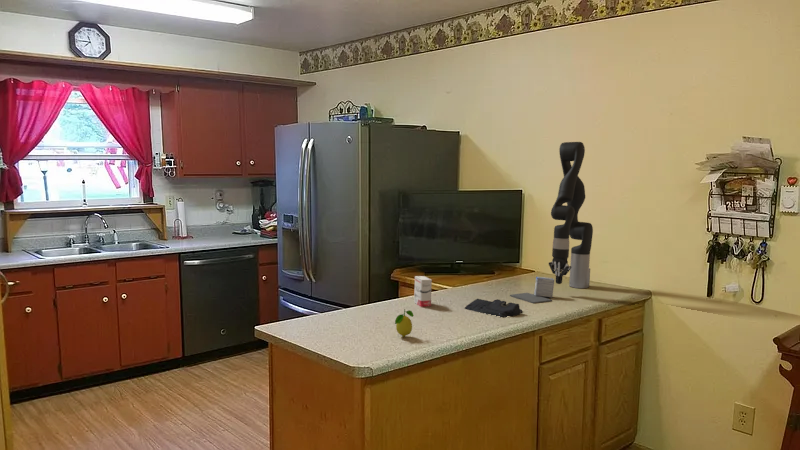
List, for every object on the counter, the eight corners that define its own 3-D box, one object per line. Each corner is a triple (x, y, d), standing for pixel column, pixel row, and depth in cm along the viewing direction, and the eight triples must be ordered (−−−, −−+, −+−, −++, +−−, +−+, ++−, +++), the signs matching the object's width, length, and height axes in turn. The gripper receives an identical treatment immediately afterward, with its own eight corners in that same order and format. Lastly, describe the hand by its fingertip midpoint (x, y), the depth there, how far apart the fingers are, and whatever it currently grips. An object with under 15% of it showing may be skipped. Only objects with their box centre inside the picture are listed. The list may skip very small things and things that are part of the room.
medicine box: (550, 296, 271) (552, 278, 271) (552, 297, 267) (554, 279, 266) (533, 294, 272) (535, 276, 271) (535, 295, 267) (537, 277, 267)
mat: (527, 293, 275) (527, 292, 275) (551, 301, 261) (551, 299, 261) (509, 295, 269) (509, 294, 269) (533, 303, 256) (533, 302, 256)
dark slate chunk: (482, 303, 255) (482, 293, 254) (525, 313, 240) (526, 302, 240) (461, 309, 244) (461, 298, 243) (506, 320, 229) (506, 308, 228)
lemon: (413, 334, 204) (413, 306, 203) (414, 339, 199) (414, 311, 198) (394, 334, 204) (395, 306, 203) (394, 339, 198) (395, 310, 197)
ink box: (431, 306, 246) (432, 279, 244) (420, 307, 244) (421, 279, 243) (423, 301, 254) (424, 275, 252) (413, 302, 252) (414, 276, 251)
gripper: (577, 249, 268) (575, 285, 270) (556, 245, 279) (554, 280, 281) (565, 249, 264) (563, 287, 266) (544, 246, 275) (542, 281, 277)
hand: (558, 283), depth 273 cm, fingers closed
